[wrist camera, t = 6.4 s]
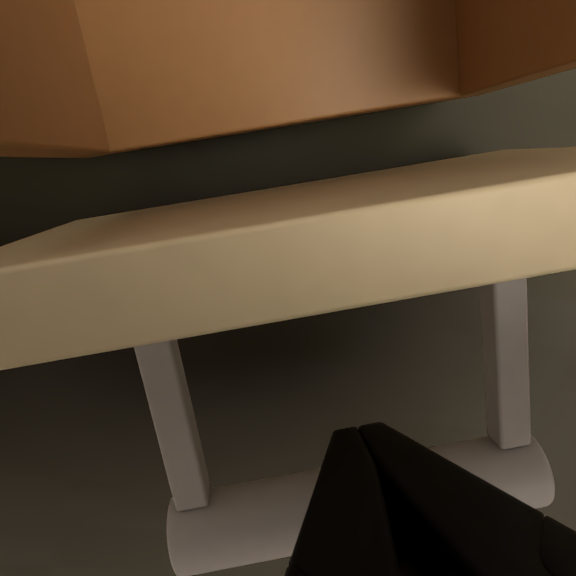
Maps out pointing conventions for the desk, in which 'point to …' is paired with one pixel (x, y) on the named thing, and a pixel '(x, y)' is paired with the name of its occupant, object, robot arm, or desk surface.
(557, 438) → the desk surface
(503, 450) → the pod drawer
